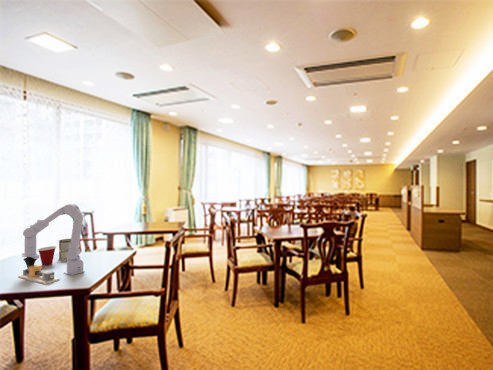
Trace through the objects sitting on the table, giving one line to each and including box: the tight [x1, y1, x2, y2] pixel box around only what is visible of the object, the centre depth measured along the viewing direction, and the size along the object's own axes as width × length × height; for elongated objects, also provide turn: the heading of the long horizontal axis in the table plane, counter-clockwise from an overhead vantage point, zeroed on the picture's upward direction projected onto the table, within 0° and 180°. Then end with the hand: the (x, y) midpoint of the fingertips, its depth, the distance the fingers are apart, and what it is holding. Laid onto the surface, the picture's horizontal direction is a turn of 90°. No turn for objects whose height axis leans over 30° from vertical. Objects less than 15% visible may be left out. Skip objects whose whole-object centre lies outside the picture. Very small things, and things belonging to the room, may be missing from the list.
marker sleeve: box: [27, 264, 42, 277], centre depth 167 cm, size 5×4×6 cm
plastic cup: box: [37, 245, 57, 267], centre depth 195 cm, size 11×11×12 cm
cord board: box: [17, 268, 61, 285], centre depth 165 cm, size 28×8×5 cm, turn 64°
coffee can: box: [58, 238, 71, 261], centre depth 212 cm, size 10×10×14 cm
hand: (30, 269), depth 169 cm, fingers closed
